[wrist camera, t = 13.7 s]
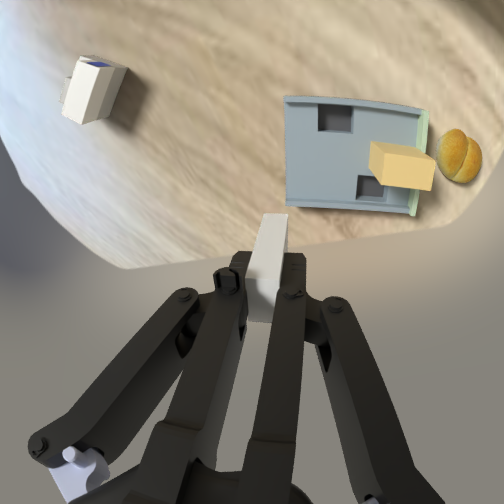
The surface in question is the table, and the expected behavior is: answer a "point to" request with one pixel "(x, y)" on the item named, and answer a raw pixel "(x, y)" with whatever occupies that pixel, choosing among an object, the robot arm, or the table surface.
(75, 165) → the table surface
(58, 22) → the table surface
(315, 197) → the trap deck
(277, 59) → the table surface
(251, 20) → the table surface
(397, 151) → the ochre block
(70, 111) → the foam block
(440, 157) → the bread roll
